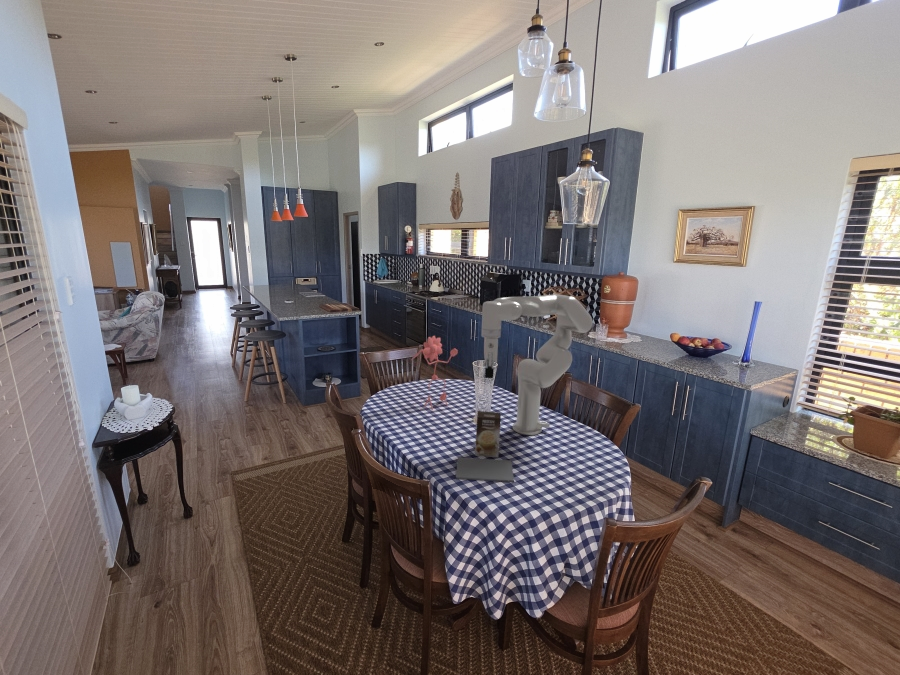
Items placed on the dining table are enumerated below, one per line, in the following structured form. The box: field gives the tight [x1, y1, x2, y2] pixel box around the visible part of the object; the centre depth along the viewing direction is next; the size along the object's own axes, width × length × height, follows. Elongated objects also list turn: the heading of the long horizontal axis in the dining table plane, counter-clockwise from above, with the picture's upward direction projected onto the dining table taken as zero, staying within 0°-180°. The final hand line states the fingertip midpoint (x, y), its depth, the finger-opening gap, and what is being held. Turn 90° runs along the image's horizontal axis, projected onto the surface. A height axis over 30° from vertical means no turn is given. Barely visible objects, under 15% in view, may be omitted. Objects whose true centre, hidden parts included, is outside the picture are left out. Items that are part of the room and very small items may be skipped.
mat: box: [455, 457, 515, 483], centre depth 158 cm, size 20×14×1 cm
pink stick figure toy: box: [410, 335, 459, 411], centre depth 217 cm, size 15×26×35 cm, turn 131°
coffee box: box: [474, 410, 502, 458], centre depth 169 cm, size 9×6×16 cm
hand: (489, 377), depth 176 cm, fingers closed
